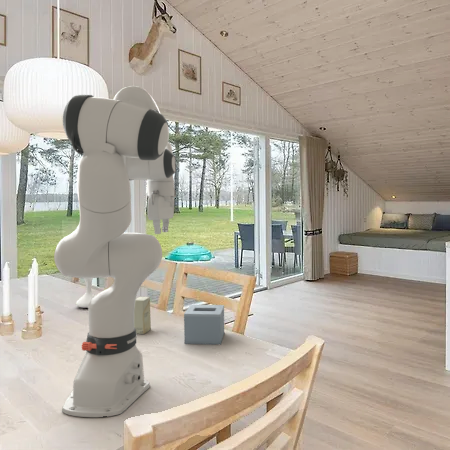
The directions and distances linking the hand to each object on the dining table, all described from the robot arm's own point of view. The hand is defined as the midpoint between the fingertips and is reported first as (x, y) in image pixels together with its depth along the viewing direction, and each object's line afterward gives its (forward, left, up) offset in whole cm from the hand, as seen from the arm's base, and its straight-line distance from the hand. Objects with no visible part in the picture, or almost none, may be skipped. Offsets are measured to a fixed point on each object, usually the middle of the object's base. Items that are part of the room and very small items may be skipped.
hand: (161, 233), depth 135 cm
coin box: (+4, -13, -37) cm, 39 cm away
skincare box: (+10, +11, -37) cm, 39 cm away
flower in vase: (+43, +46, -37) cm, 73 cm away
